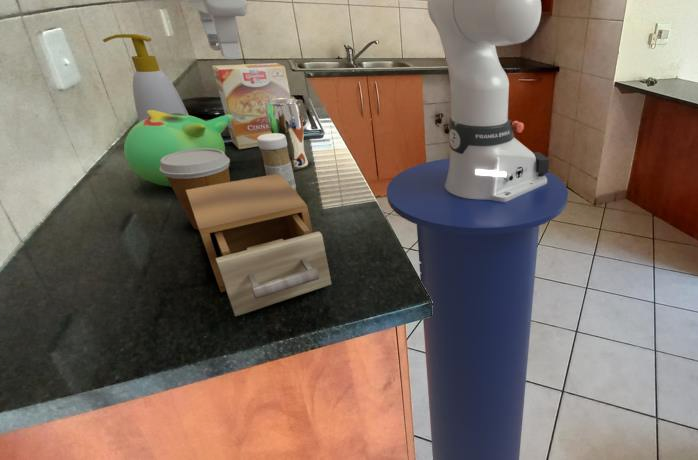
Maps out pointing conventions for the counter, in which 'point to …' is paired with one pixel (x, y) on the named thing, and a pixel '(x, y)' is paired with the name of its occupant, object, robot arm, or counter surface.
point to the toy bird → (169, 140)
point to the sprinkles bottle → (276, 156)
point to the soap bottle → (151, 82)
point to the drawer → (270, 262)
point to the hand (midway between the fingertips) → (225, 54)
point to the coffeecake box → (249, 98)
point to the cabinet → (242, 208)
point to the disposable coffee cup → (194, 173)
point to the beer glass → (288, 127)
